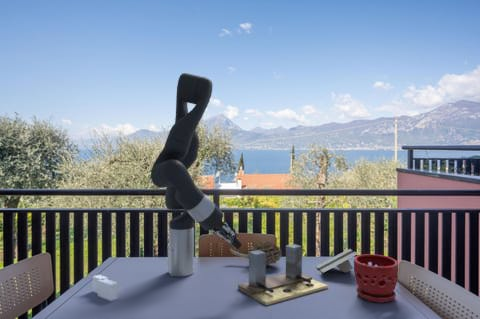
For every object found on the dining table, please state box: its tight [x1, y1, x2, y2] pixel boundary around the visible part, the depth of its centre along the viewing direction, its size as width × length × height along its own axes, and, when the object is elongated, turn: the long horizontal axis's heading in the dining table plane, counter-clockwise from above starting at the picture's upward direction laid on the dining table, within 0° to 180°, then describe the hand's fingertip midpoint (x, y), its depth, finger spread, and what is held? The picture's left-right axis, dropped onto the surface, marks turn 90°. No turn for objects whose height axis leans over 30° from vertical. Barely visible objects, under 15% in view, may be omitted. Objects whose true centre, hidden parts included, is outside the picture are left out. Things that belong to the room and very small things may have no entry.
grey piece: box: [316, 248, 360, 274], centre depth 135 cm, size 16×9×15 cm
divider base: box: [237, 243, 313, 298], centre depth 119 cm, size 26×12×12 cm, turn 123°
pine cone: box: [229, 240, 282, 266], centre depth 144 cm, size 22×10×10 cm, turn 80°
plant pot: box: [353, 253, 399, 303], centre depth 111 cm, size 13×13×12 cm
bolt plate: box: [252, 278, 329, 307], centre depth 114 cm, size 26×7×1 cm, turn 123°
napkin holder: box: [92, 274, 119, 302], centre depth 113 cm, size 15×11×6 cm
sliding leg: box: [248, 250, 274, 293], centre depth 114 cm, size 4×10×11 cm, turn 33°
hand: (238, 246), depth 112 cm, fingers closed
